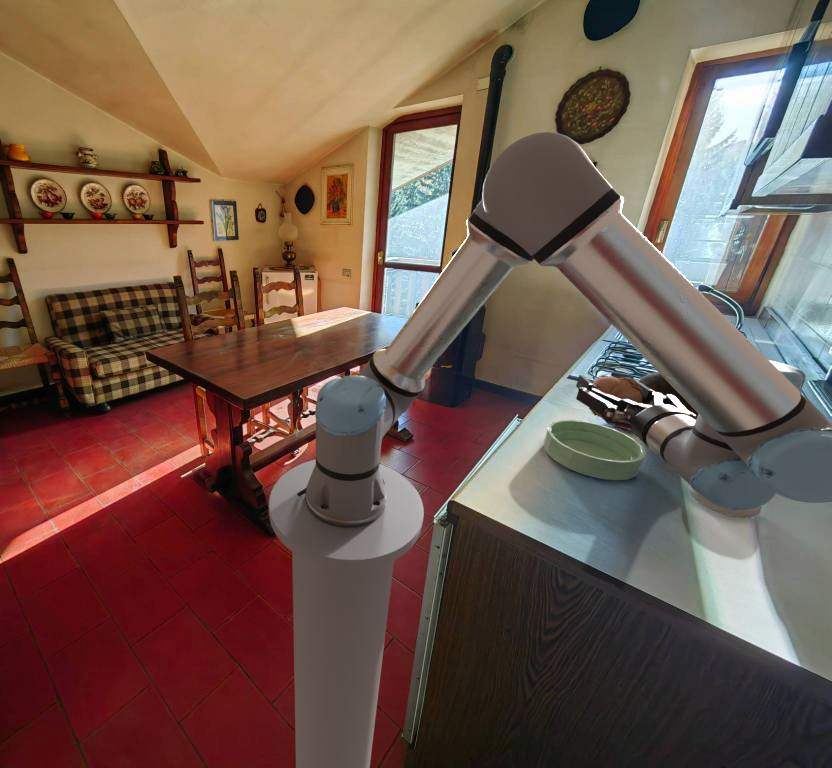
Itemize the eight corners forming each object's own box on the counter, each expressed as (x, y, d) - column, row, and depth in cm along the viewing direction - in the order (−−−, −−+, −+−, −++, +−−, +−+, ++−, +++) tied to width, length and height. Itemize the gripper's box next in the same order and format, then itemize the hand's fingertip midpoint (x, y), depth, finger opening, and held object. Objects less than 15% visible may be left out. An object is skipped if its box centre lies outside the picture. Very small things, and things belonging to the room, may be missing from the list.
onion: (620, 429, 83) (658, 393, 79) (612, 432, 77) (654, 393, 72) (579, 400, 89) (613, 365, 84) (569, 401, 82) (605, 363, 78)
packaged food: (602, 414, 110) (607, 398, 108) (656, 427, 103) (662, 411, 101) (599, 426, 103) (604, 409, 101) (655, 441, 96) (662, 423, 95)
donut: (677, 482, 81) (698, 512, 72) (683, 468, 80) (706, 497, 71) (739, 495, 77) (770, 528, 69) (747, 481, 76) (779, 512, 68)
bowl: (580, 485, 80) (587, 464, 78) (526, 439, 96) (531, 421, 94) (659, 479, 82) (668, 459, 80) (593, 436, 98) (599, 418, 96)
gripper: (590, 445, 67) (545, 394, 87) (739, 461, 63) (656, 403, 84) (603, 406, 64) (554, 362, 84) (760, 420, 60) (669, 370, 81)
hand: (605, 382), depth 84 cm, fingers closed on onion, 9 cm apart
